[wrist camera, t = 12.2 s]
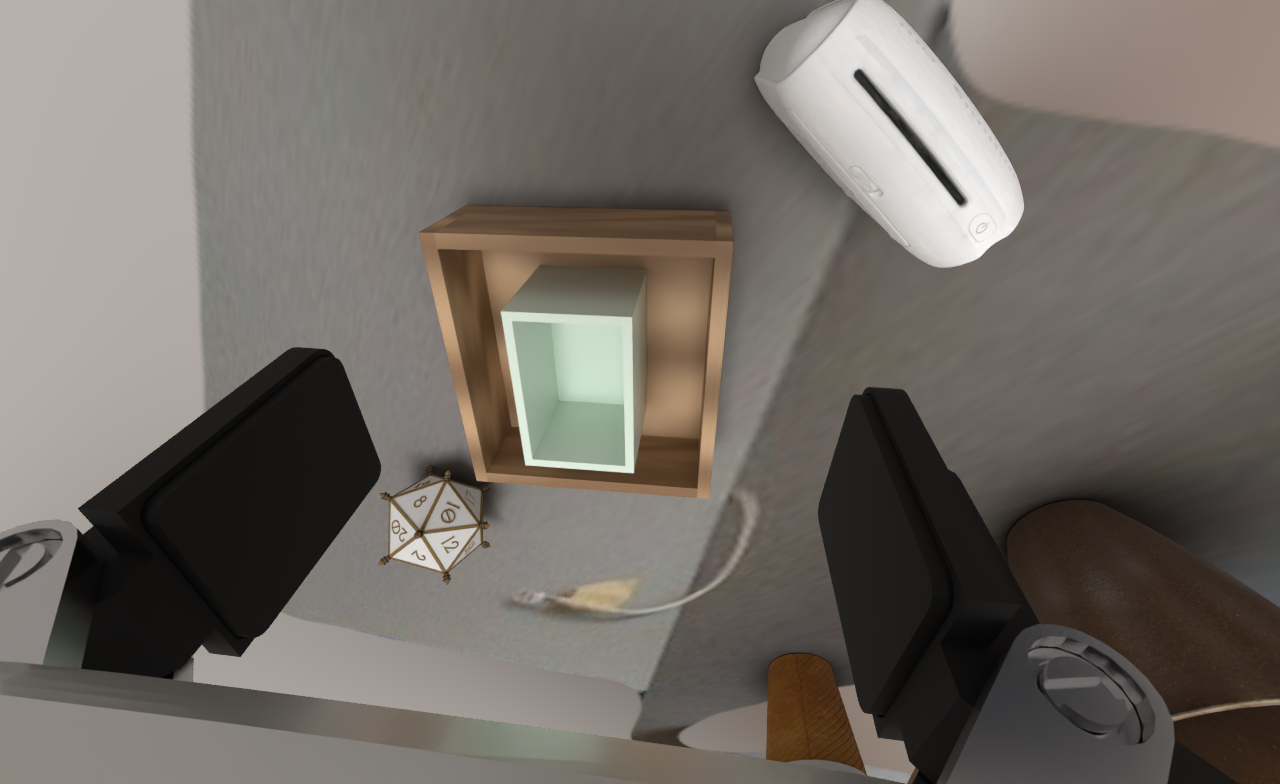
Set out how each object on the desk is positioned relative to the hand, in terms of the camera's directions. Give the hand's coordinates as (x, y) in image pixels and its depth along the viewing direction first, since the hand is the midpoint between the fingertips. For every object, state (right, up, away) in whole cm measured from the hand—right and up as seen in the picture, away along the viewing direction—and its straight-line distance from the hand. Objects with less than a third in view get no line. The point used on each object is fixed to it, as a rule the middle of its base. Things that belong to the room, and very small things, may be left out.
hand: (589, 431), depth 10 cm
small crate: (-2, +4, +24) cm, 25 cm away
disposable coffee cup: (+17, -28, +43) cm, 54 cm away
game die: (-14, -7, +34) cm, 38 cm away
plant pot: (+33, -10, +30) cm, 46 cm away
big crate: (-2, +5, +25) cm, 25 cm away
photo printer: (+11, +15, +17) cm, 25 cm away
